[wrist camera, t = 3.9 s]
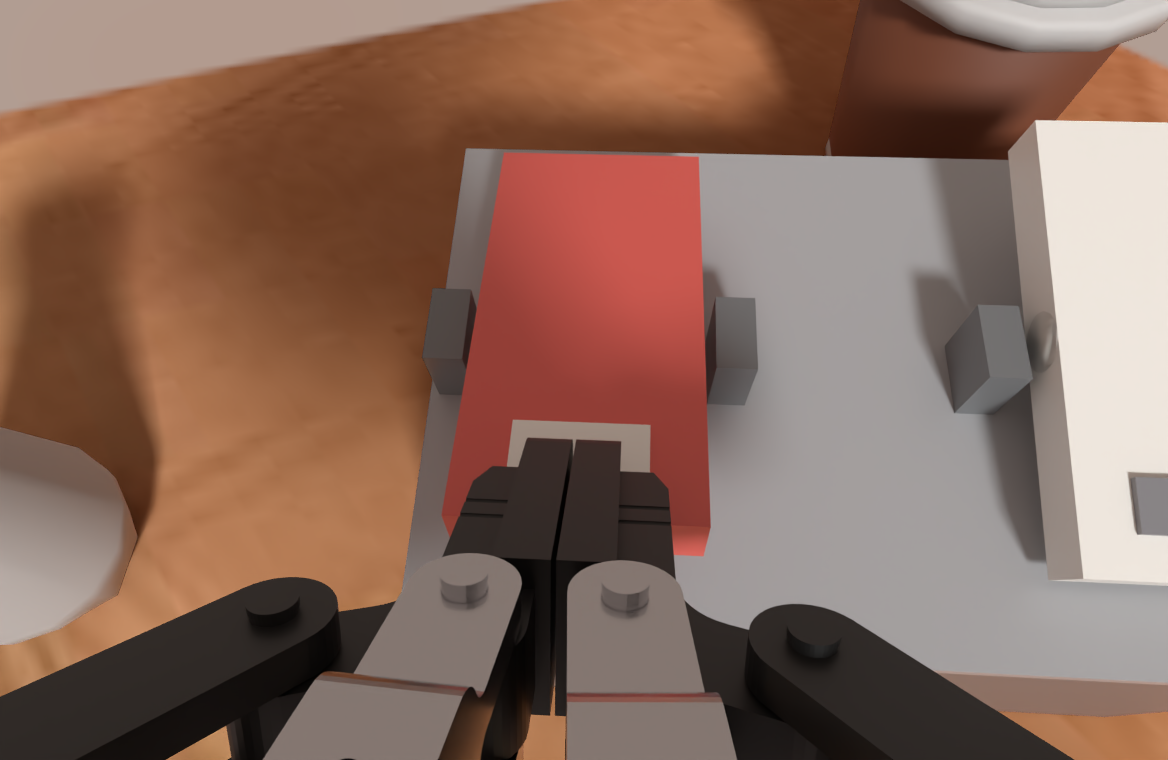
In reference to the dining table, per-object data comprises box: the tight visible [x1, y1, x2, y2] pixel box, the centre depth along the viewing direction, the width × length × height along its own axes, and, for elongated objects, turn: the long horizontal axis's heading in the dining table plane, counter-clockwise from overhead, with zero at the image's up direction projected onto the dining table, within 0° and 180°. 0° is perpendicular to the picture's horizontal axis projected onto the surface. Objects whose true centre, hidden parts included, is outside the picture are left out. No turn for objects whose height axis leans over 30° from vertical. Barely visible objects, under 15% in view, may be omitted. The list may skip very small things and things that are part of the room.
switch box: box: [402, 148, 1168, 717], centre depth 21 cm, size 18×12×11 cm, turn 87°
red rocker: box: [441, 152, 711, 556], centre depth 16 cm, size 4×9×1 cm, turn 177°
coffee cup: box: [825, 0, 1168, 160], centre depth 26 cm, size 9×9×12 cm
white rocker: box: [1008, 120, 1168, 586], centre depth 16 cm, size 4×9×1 cm, turn 177°
